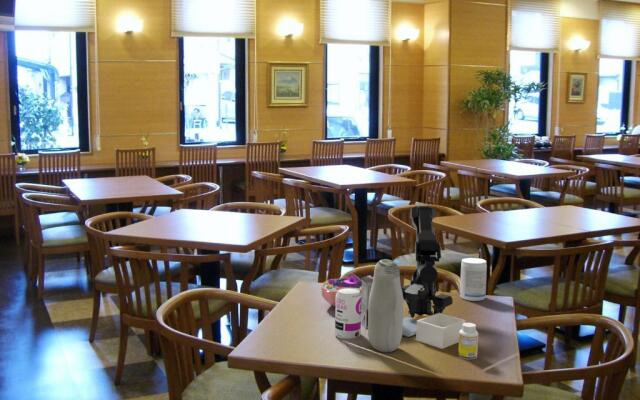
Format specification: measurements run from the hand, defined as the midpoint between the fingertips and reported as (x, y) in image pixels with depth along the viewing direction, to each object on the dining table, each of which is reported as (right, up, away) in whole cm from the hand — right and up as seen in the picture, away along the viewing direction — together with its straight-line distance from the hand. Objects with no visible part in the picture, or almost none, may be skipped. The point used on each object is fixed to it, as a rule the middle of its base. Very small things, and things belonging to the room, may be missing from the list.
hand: (423, 320), depth 242 cm
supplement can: (-26, -3, -12) cm, 29 cm away
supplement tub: (+23, +3, +33) cm, 41 cm away
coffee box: (-16, -2, 0) cm, 16 cm away
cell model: (-25, +2, +20) cm, 32 cm away
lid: (-4, -2, -4) cm, 7 cm away
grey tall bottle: (-15, -5, -23) cm, 28 cm away
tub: (+3, -4, -15) cm, 16 cm away
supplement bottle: (+9, -7, -28) cm, 30 cm away
